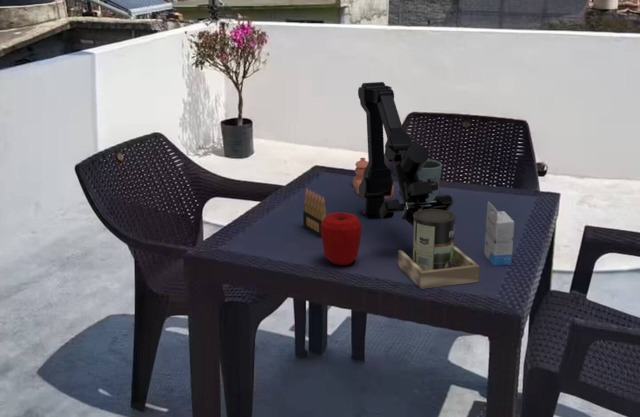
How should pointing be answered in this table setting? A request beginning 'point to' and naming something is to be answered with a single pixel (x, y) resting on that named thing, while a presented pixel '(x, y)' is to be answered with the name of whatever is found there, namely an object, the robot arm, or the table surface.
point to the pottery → (360, 172)
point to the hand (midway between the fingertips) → (424, 236)
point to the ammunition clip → (313, 212)
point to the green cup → (431, 175)
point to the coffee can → (433, 239)
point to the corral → (441, 271)
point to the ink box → (498, 237)
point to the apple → (341, 237)
